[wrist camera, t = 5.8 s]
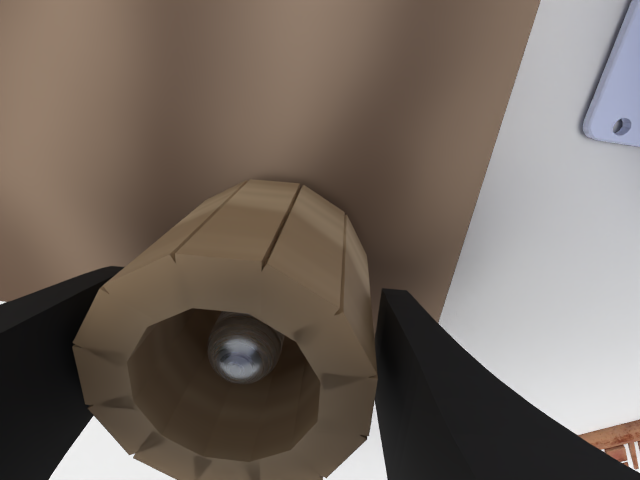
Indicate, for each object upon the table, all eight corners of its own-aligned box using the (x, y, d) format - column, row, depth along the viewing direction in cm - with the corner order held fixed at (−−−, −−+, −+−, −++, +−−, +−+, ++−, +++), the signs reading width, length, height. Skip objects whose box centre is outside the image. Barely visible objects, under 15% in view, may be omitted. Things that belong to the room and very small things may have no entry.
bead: (375, 189, 11) (394, 273, 6) (355, 353, 13) (357, 507, 8) (176, 172, 11) (48, 241, 6) (189, 336, 13) (101, 477, 8)
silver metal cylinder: (306, 231, 13) (279, 345, 7) (300, 272, 14) (271, 406, 8) (259, 223, 13) (197, 332, 7) (256, 265, 14) (195, 394, 8)
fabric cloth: (599, -268, 9) (645, -329, 8) (417, 341, 16) (424, 366, 15) (-151, -388, 9) (-239, -470, 8) (-7, 276, 16) (-39, 294, 15)
